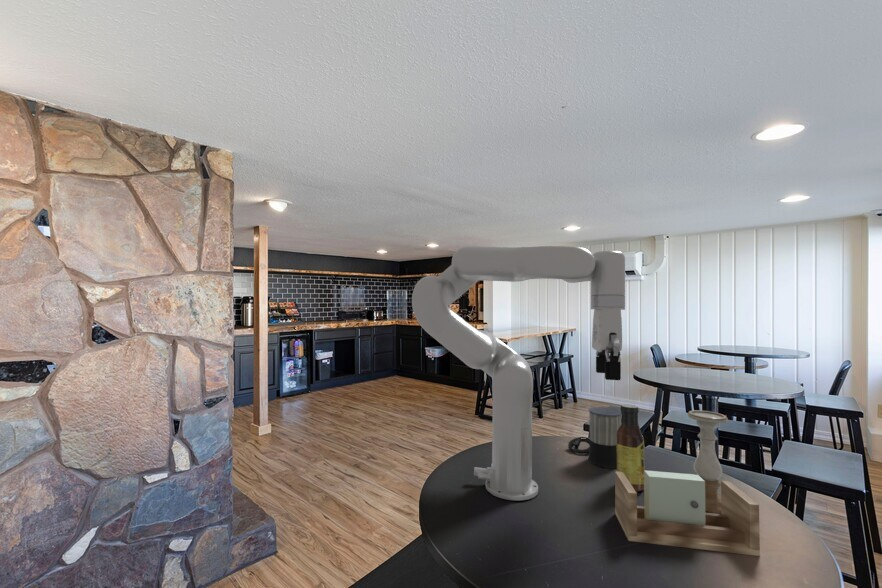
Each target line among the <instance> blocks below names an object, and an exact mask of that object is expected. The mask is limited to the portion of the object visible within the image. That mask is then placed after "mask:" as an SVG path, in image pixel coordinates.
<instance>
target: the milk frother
mask: <svg viewBox="0 0 882 588" xmlns="http://www.w3.org/2000/svg"><path fill="white" fill-rule="evenodd" d="M588 412H589V437H587V436H586V437H584V436H578V437H575V438H572V439H570V440H569V442H568V443H567V444H568V445H567V447H568V449H569V450H570V451H571V452H573V453H575V454H581V455H585V454H588V455H589V456H588V462H590V463H591V464H593V465H595V466H597V467H600V468H607V469H617V431H618V429H619V427H620V426H621V424H622V422H621V420H622V412H621V410H619V409H616V408H612V407H605V406H594V407H592V406H591V407H590V408H588ZM581 438H586V439H581ZM582 442H583V443H587V444H588V445H589V447H588V448H586V449H580V448H579V447H580V445H581V443H582Z"/></svg>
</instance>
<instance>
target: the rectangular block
mask: <svg viewBox="0 0 882 588" xmlns="http://www.w3.org/2000/svg"><path fill="white" fill-rule="evenodd" d="M643 494H644V495H643V497H644V498H643V499H644V501H643V505H644V519H648V520H657V521H667V522H676V523H685V524H695V525H704V526H705V513H706V511H705V481H704V480H703V479H702V478H701V477H700V476H699V475H698V474H692V473H680V472H667V471H656V470H646V469H645V470H644V489H643Z"/></svg>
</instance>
